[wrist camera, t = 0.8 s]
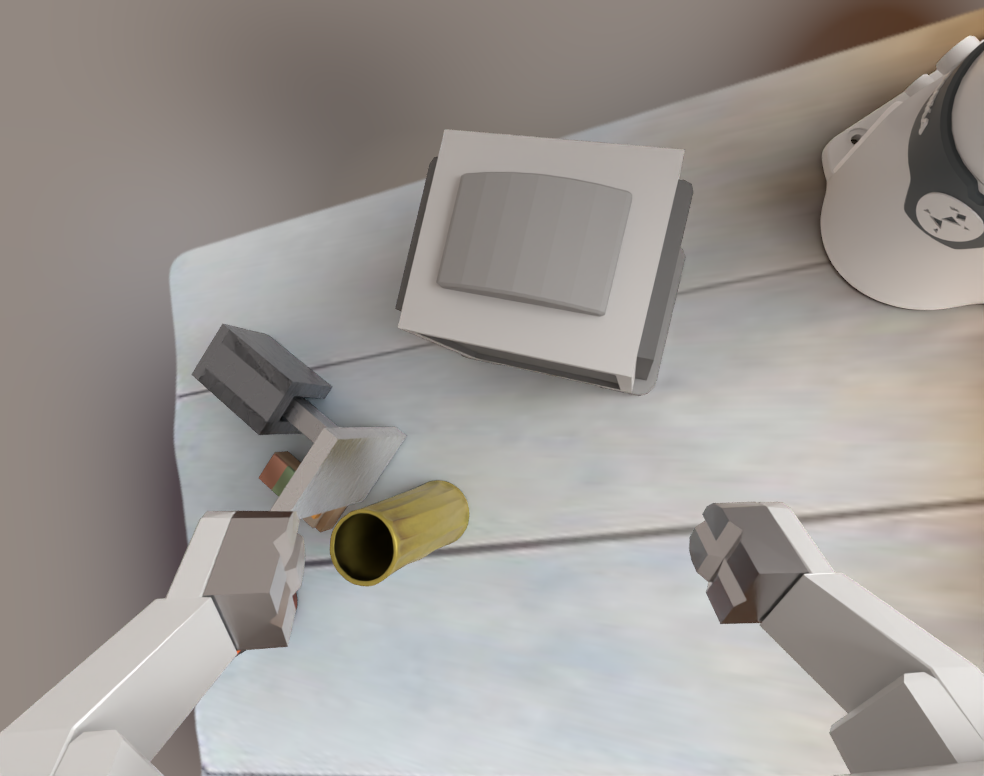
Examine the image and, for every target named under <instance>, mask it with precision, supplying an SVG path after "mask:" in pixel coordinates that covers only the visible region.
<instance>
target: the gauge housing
mask: <svg viewBox="0 0 984 776" xmlns="http://www.w3.org/2000/svg"><path fill="white" fill-rule="evenodd" d="M192 375H193V376H194V377H195V378H196V379H197V380H198V381H199V382H201V383H202V384H203V385H204V386H205V387H206V388H207V389H208V390H209V391H211V392H212V393H213V394H214V395H215V396H216V397H217V398H218V399H219V400H221V401H222V402H223V403H224V404H225V405H226V406H227V407H228V408H230V409H231V410H232V411H233V412H234V413H235V414H236V415H237V416H238V417H240V418H241V419H242V420H243V421H244V422H245V423H246V424H247V425H249V426H250V427H251V428H252V429H253V430H254V431H255V432H256V433H257V434H259V435H268V434H302V432H301V431H300V430H298V429H297V428H296V427H295V426H294V425H293V424H291V423H290V422H289V421H288V420H287V419H286V418H284V417H283V416H282V415H283V414H284V412H285V410H286V409H287V407H288V406H289V404H290V403H291V401H292V399H293V398H294V396H301V397H313V398H325V397H326V395H327V394H328V392H329V391H330V389H331V388H332V386H331V385H330V384H328V383H327V382H326V381H325V380H323V379H322V378H321V377H320V376H318V375H317V374H316V373H315V372H313V371H312V370H311V369H310V368H309V367H307V366H306V365H305V364H304V363H302V362H301V361H300V360H299V359H297V358H296V357H295V356H294V355H292V354H291V353H290V352H289V351H288V350H286V349H285V348H284V347H283V346H281V345H280V344H279V343H278V342H276V341H275V340H274V339H273V338H272V337H270V336H269V335H267V334H263V333H259V332H255V331H251V330H247V329H243V328H238V327H234V326H230V325H226V324H222V326H221V327H220V329H219V331H218V332H217V334H216V336H215V337H214V339H213V340H212V342H211V344H210V345H209V347H208V349H207V350H206V352H205V354H204V355H203V357H202V358H201V360H200V362H199V363H198V365H197V367H196V368H195V370H194V371H193V373H192Z"/></svg>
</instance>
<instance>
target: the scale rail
mask: <svg viewBox="0 0 984 776" xmlns="http://www.w3.org/2000/svg"><path fill="white" fill-rule="evenodd" d="M300 464H301V463H300V462H299V461H298V460H297V459H296V458H295V457H294V456H293V455H291V454H290V453H289V452H288V451H285V452H275V453H274V454H273V456H272V458H271V459H270V461H269V462H268V464H267V465H266V467H265V468H264V470H263V472H262V473H261V475H260V476H259V479H260V480H261V481H262V482H263V483H264V484H266V485H267V486H268V487H269V488H270V489H271V490H272V491H273V492H274V493H275V494H276V495H277V496H278V497H279V496H280V495H281V493H282V492H283V490H284V488H285V487H286V485H287V484H288V482H289V481H290V479H291V478H292V476H293V475H294V473H295V472H296V470H297V469H298V467H299V465H300ZM346 507H347V506H344V507H341V508H337V509H334V510H330V511H327V512H323V513H321V515H320V516H319V518H317V519H313V518H312V517H311V516H309V517H306V518H302V519H303V520H304V521H305V522H306V523H308V524H309V525H310V526H311V527H312V528H316V529H317V530H318V531H320V532H323V531H326V530H329V529H331V528H333V526H334V525H335V523H336V522H337V520H338V519H339V517H340V516H341V514H342V513H343V511H344V510H345V508H346Z"/></svg>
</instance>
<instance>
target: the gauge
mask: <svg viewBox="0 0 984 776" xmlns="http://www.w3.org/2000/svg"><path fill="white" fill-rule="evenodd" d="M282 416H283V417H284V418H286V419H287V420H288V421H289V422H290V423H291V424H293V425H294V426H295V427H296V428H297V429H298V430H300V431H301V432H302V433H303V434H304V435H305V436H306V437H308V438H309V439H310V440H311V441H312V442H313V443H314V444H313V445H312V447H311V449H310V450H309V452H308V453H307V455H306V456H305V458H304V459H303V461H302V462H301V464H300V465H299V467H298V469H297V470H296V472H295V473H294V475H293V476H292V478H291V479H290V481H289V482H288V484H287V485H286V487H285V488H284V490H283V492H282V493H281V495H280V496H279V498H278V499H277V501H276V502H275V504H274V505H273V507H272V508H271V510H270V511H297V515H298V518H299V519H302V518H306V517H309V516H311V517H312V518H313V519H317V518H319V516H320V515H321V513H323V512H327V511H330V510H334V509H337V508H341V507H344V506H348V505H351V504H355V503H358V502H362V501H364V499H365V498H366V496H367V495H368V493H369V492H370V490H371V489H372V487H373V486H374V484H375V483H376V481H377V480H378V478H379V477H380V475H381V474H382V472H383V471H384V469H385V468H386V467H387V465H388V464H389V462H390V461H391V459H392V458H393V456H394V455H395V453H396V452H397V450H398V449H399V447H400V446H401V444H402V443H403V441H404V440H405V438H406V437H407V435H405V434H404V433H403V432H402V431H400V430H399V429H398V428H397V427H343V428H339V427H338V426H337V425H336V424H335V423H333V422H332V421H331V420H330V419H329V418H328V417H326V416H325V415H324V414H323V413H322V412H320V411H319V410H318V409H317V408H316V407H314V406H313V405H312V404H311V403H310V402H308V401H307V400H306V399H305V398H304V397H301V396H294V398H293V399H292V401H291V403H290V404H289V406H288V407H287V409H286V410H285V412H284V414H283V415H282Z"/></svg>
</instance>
